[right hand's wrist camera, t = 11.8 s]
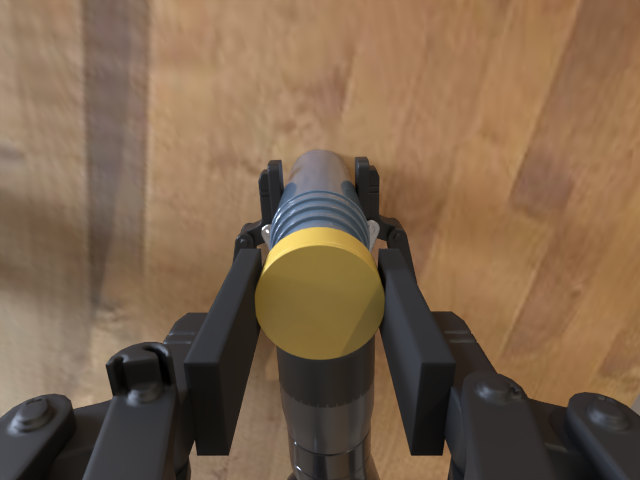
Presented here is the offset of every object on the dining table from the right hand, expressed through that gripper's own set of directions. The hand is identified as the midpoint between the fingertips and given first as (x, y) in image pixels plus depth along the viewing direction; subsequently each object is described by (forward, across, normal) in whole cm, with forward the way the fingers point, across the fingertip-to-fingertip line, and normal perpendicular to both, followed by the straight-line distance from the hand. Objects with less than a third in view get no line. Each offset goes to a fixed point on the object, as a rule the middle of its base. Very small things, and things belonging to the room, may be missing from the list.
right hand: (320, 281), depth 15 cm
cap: (-2, 0, 0) cm, 2 cm away
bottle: (+18, 0, 0) cm, 18 cm away
